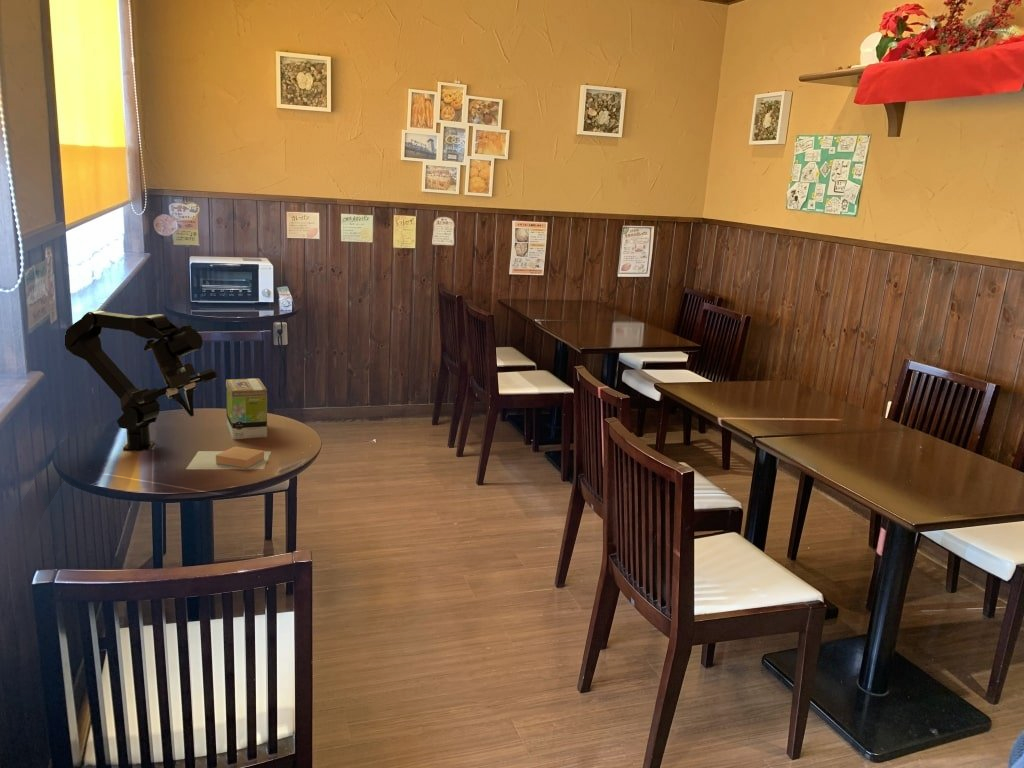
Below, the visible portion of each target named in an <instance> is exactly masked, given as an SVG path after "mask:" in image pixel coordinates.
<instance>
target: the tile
mask: <svg viewBox="0 0 1024 768" xmlns="http://www.w3.org/2000/svg"><path fill="white" fill-rule="evenodd" d="M223 451H224V452H222V453H220V454H218V455H216V464H219V465H225V466H231V467H237V468H243V469H242V470H248V469H247V468H249V467H251V466H253V465H255V464H257V463H259V462H261V461H262V460H264V451H265V450H260V449H254V448H248V447H241V446H232V447H231V448H229V449H228V448H227V449H226V450H223Z"/></svg>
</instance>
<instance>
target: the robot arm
mask: <svg viewBox="0 0 1024 768" xmlns="http://www.w3.org/2000/svg"><path fill="white" fill-rule="evenodd" d="M104 329H111V330H117V331H126V332H130V333H133V334H134V335H135V336H137V337H140V338H143V339H146V344H145V345H144V347H143V350H144V351H146V352H147V351H150V350H151V352H152V354H153V357H154V358H155V362H156V364H157V365H158V368H159V371H160V372H161V375H162V378H163V379H164V380H163V381H164V384H165V385H166V386H165V387H162V388H159V389H158V388H157V387H155V388H151V389H149V388H143V389H139V388H137V387H136V386H135V385H134V384H133V382H132V381H131V380H130V379H129V378H128V377H127V376H126V375H125V373H123V371H122V370H121V369H120V368H119V367H118V366H117V364H116V363H114V361H113V360H112V359H111V358H110V357H109V355H108V354H107V353H106V352H105V351H104V350H103V347H102V340H101V338H100V335H101V334H102V333H103V331H104ZM66 330H67V331H66V335H65V346H66V348H65V350H67V351H68V352H69V353H70V354H72V355H73V356H75V357H78V358H80V359H82V360H85V361H86V363H87V364H88V365H89V366H90V367H91V368H92V369H93V371H94V372H95V373H96V374H97V375H98V376H99V377H100V379H102V381H103V382H104V383H105V384H106V385H107V386H108V387H109V388H110V390H111V391H112V392H113V393H114V394H115V395H116V396H117V398H119V403H120V407H121V411H122V414H121V416H119V417H118V419H117V420H116V422H117V425H118V427H119V428H120V429H124V430H126V444H125V445H124V446H123V447H122V450H123V451H125V450H126V451H127V450H129V451H135V450H137V451H147V450H150V449H151V447H153V445H154V444H155V440H151V431H150V429H151V428H150V427H151V426H150V424H153V423H156V422H157V418H158V416H159V414H160V407H161V404H160V403H159V401H158V399H159V397H162V396H165V395H166V396H167V399H170V400H171V399H172V400H174V401H175V402H176V403H177V404H178V405H179V406H181V408H182V409H183V410H184V411H185V412H186V414H187V415H188V416H189V417H194V416H195V414H194V412H195V411H194V391H195V390H197V389H198V386H196V384H199V383H201V382H202V383H203V384H204V383H206V382H209V381H212V380H216V379H217V378H218V375H217V372H216V370H215V369H214V368H209V369H206V370H203V371H201V372H198V373H196V370H195V368H194V365H193V363H192V362H189V363H186V364H184V363H183V361H182V359H181V356H182V357H183V356H186V355H187V354H190V353H192V352H196V351H198V350H200V349H201V348H202V347H203V345H204V344H203V343H204V342H203V341H204V340H203V337H202V334H200V333H199V332H198V330H196V329H194V328H192V325H191V324H186V325H183V326H181V327H178V326H177V325H176V324H174V322H172V321H171V320H169V318H168V317H167V315H165V314H164V313H163V314H161V313H158V314H149V315H148V314H145V315H132V314H125V313H124V314H123V313H118V312H117V313H115V312H110V311H104V310H99V309H98V310H93V311H87V312H86V313H85V314H84V315H83V316H82V317H81V318H80V319H79V320H77V321H76V322H74V323H73V324H71V325H70V326H69V327H68V328H67V329H66ZM181 389H183V390H184V391H183V392H184V396H185V400H186V401H185V400H184V397H183V395H182V394H181V392H178V391H179V390H181Z"/></svg>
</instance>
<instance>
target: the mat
mask: <svg viewBox="0 0 1024 768" xmlns="http://www.w3.org/2000/svg"><path fill="white" fill-rule="evenodd" d="M224 451H225V450H223V451H222V450H220V451H219V450H218V451H217V450H215V451H214V450H213V451H212V450H210V451H209V450H201V451H199V450H198V451H197V453H196V454H195V455H194V457H193V458H192V460H191V461H190V463H189V464H188V466H187V467H186V468H185V470H244V469H243V468H237V467H231V466H225V465H219V464H216V455H218V454H220V453H222V452H224ZM263 451H264V460H262V461H261V462H259V463H257V464H255V465H253V466H251V467H249V468H247V469H246V470H265V467H266V465H267V462H268V460H269V458H270V456H271V452H272V451H270V450H268V451H267V450H263Z"/></svg>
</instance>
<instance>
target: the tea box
mask: <svg viewBox="0 0 1024 768" xmlns="http://www.w3.org/2000/svg"><path fill="white" fill-rule="evenodd" d="M225 405H226V407H225V409H226V414H225V415H226V427H227V429H228V431H229V433H230V437H231V439H232V440H242V439H243V440H244V439H252V438H263V437H265V438H267V436H268V389H267V388H266V386H265V385H264V383H263V382H262V380H261V379H260V378H256V377H255V378H237V379H236V378H234V379H233V378H232V379H230V378H229V379H225Z"/></svg>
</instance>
